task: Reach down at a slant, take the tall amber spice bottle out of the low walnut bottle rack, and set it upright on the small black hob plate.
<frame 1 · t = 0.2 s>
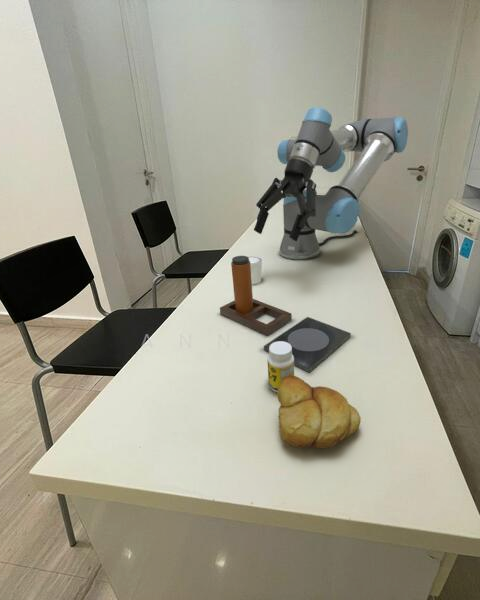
hand: (274, 235, 92), 16 cm above the table, tool tilted 35°, fingers open, 13 cm apart
supplement bottle: (281, 385, 61), on the table
bottle rack: (255, 317, 84), on the table
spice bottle: (244, 312, 86), resting in bottle rack
white short cylinder: (252, 281, 104), on the table
bread roll: (317, 432, 51), on the table
hob plate: (308, 343, 73), on the table
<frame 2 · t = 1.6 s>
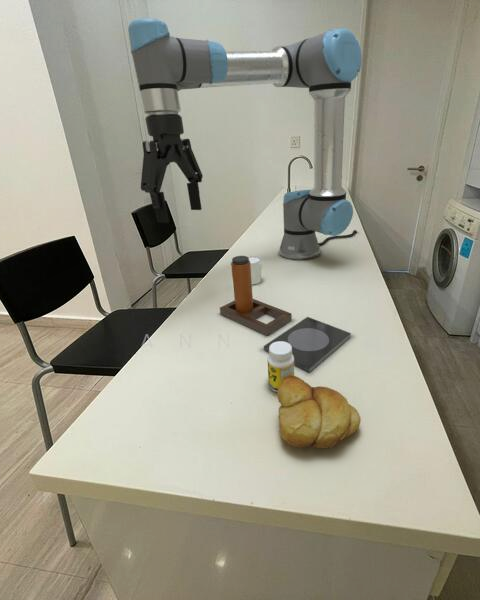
hand: (181, 215, 79), 25 cm above the table, tool pointing down, fingers open, 13 cm apart
nothing on the table moved.
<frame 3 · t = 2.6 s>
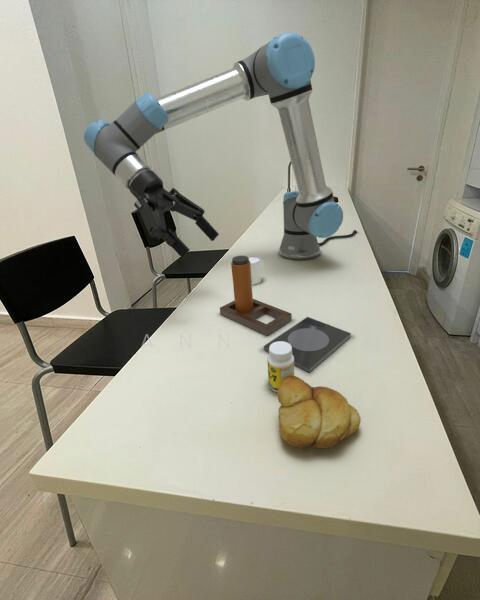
hand: (202, 245, 82), 17 cm above the table, tool tilted 45°, fingers open, 13 cm apart
nothing on the table moved.
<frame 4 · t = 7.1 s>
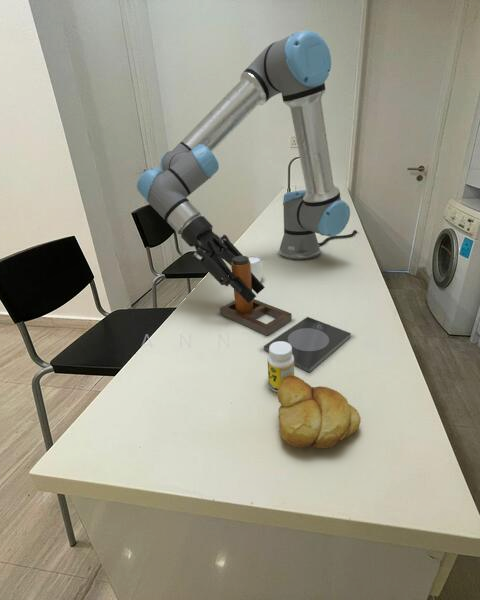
hand: (256, 295, 82), 6 cm above the table, tool tilted 45°, fingers closed on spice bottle, 5 cm apart
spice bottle: (244, 312, 86), resting in bottle rack, touching gripper
everything else where it was.
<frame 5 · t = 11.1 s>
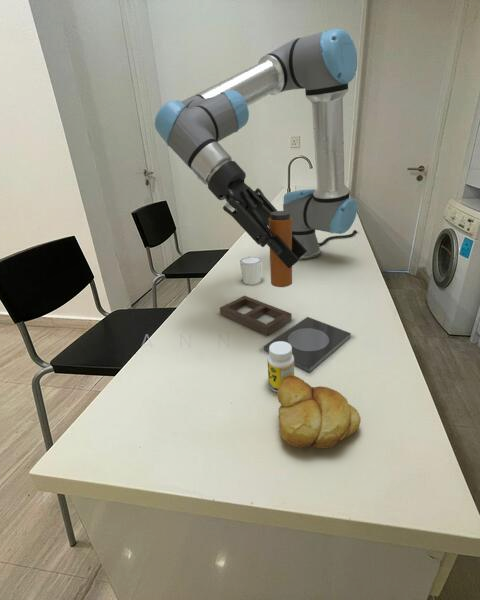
hand: (298, 259, 68), 18 cm above the table, tool tilted 45°, fingers closed on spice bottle, 5 cm apart
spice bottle: (281, 282, 72), point 13 cm above the table, touching gripper
everything else where it was.
when the fingers open (7 cm above the table, at t = 15.4 s): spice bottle stays where it is, resting on hob plate.
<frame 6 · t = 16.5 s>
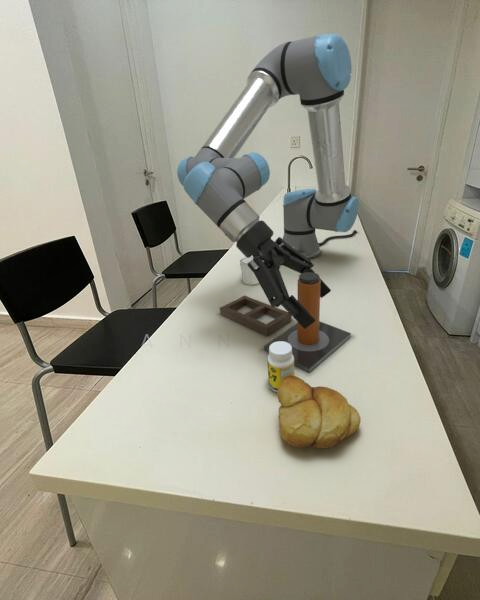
hand: (319, 308, 68), 9 cm above the table, tool tilted 45°, fingers open, 13 cm apart
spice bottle: (308, 339, 72), point 1 cm above the table, touching hob plate
everything else where it was.
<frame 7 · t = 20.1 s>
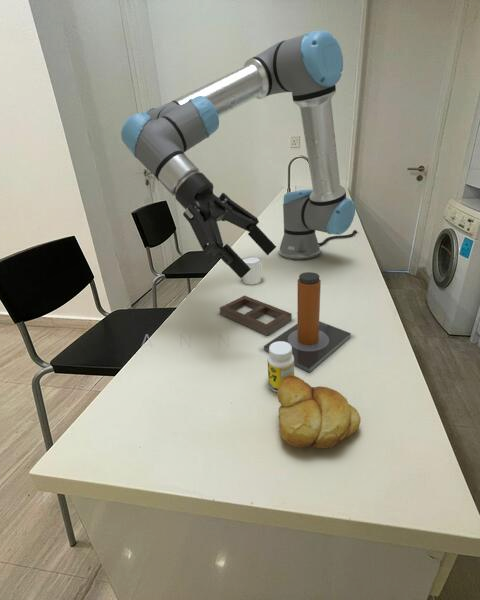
hand: (260, 261, 68), 18 cm above the table, tool tilted 45°, fingers open, 13 cm apart
nothing on the table moved.
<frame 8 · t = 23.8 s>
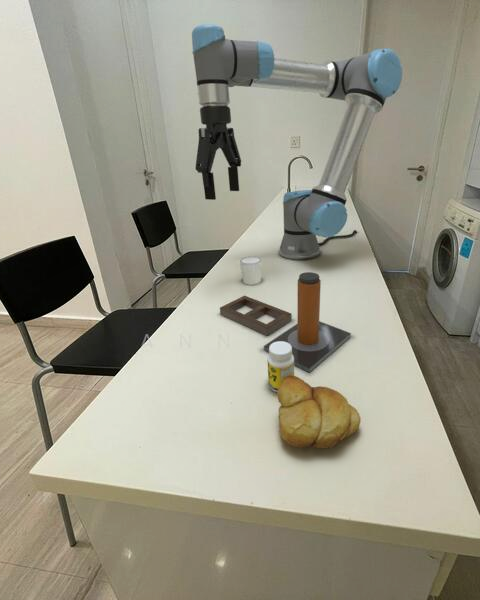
hand: (223, 195, 91), 27 cm above the table, tool pointing down, fingers open, 13 cm apart
nothing on the table moved.
at the end: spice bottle inside the target area on the hob plate (0.1 cm from its centre), point 1.1 cm above the hob plate's base; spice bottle tilted 0°; the gripper is holding nothing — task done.
